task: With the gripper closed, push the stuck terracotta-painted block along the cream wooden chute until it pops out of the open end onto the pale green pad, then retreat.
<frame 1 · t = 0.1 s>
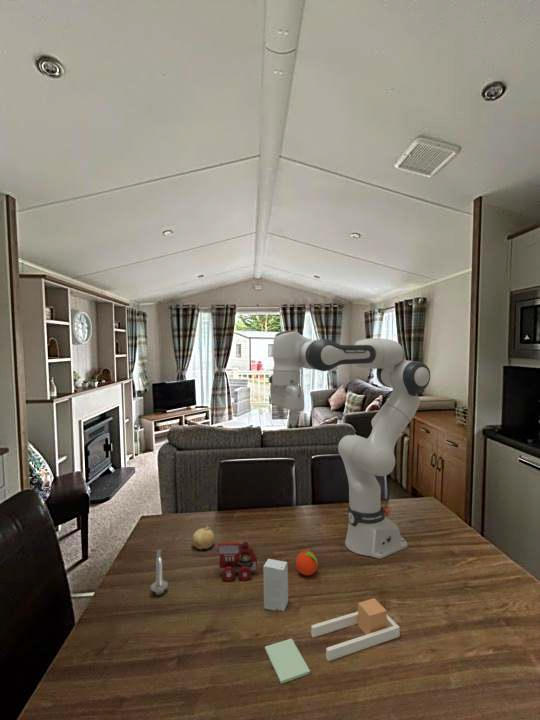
hand: (286, 421, 124), 48 cm above the table, fingers open, 8 cm apart
pad: (292, 658, 87), on the table
onion: (203, 547, 136), on the table
screw: (159, 593, 111), on the table
chute: (355, 638, 93), on the table
block: (372, 618, 94), point 4 cm above the table, slide at 0.0 cm
clementine: (308, 574, 119), on the table
toy fire truck: (237, 575, 119), on the table
skincare box: (276, 606, 104), on the table
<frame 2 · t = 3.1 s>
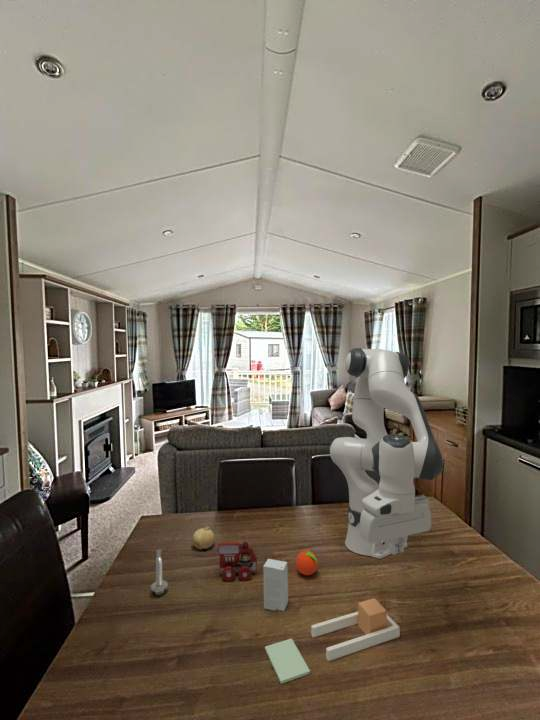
hand: (396, 552, 96), 19 cm above the table, fingers closed
nothing on the table moved.
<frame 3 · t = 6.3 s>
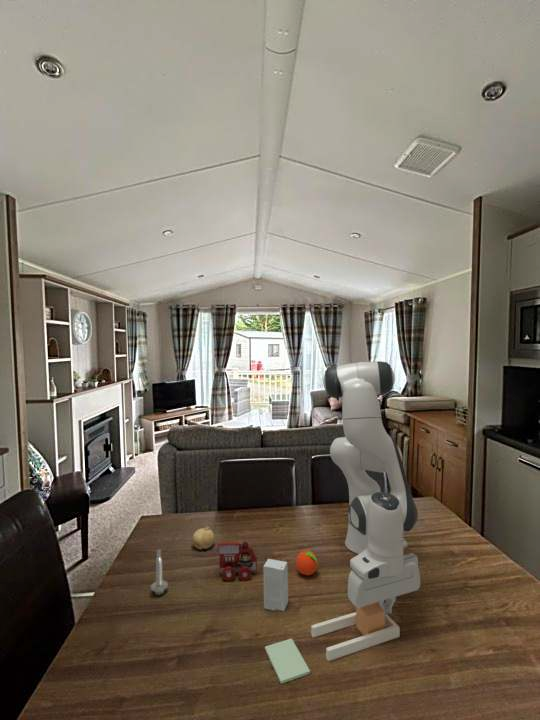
hand: (384, 612, 95), 4 cm above the table, fingers closed
block: (370, 618, 94), point 4 cm above the table, slide at 0.6 cm, touching gripper
everything else where it was.
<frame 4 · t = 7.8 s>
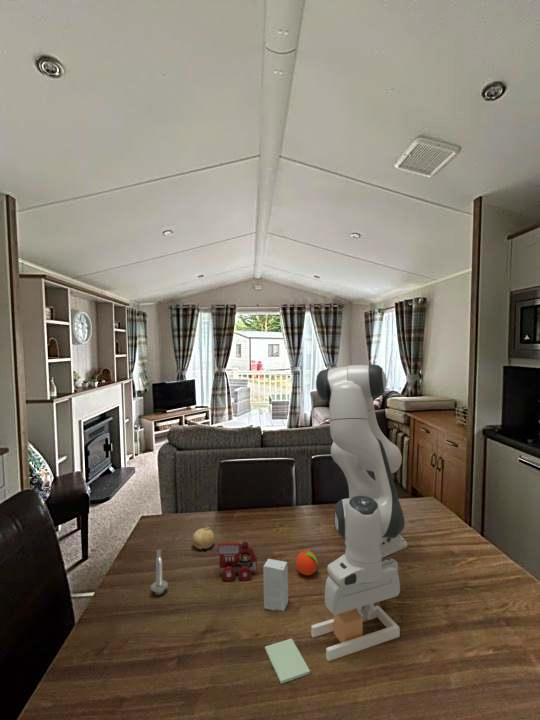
hand: (363, 619, 93), 4 cm above the table, fingers closed
block: (347, 625, 92), point 4 cm above the table, slide at 7.1 cm, touching gripper
everything else where it was.
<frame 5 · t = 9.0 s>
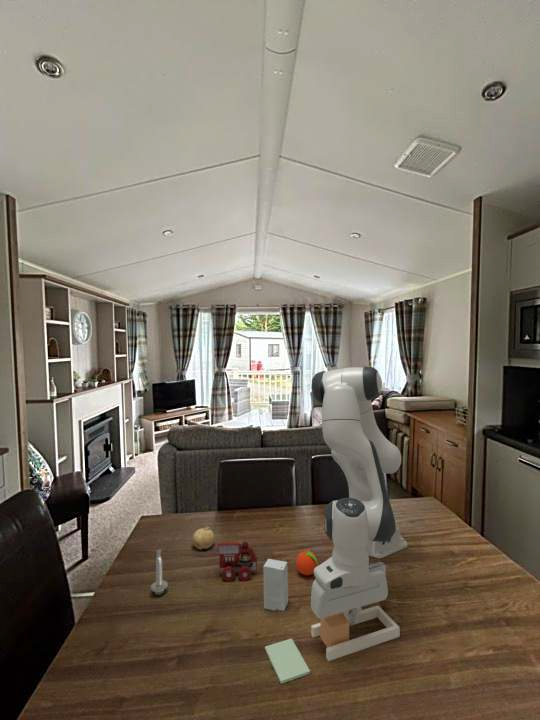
hand: (350, 623, 92), 4 cm above the table, fingers closed
block: (334, 630, 90), point 4 cm above the table, slide at 10.9 cm, touching gripper
everything else where it was.
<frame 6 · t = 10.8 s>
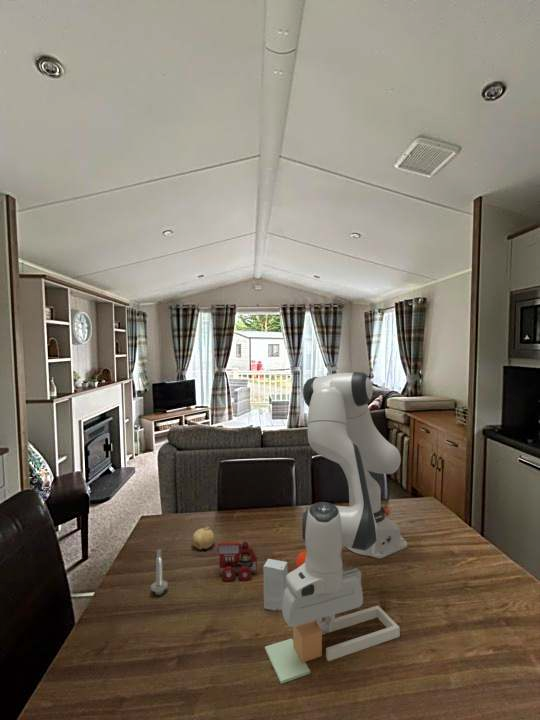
hand: (323, 631, 89), 4 cm above the table, fingers closed
block: (307, 638, 88), point 4 cm above the table, slide at 18.2 cm, touching gripper
everything else where it was.
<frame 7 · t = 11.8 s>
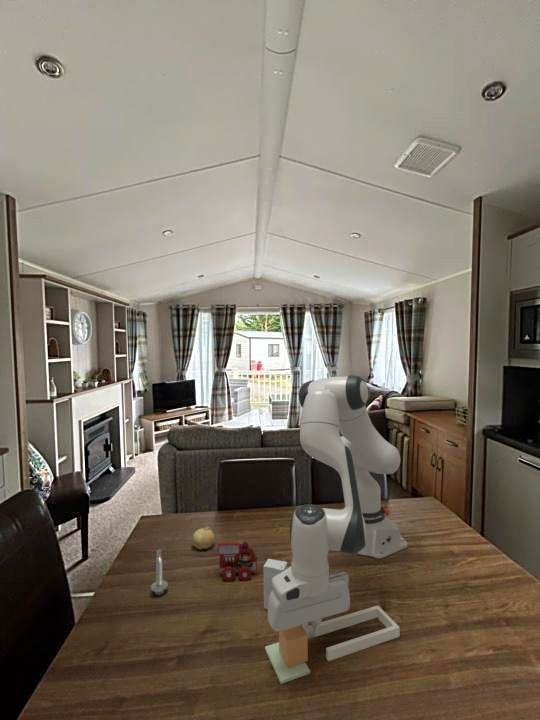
hand: (310, 636, 88), 4 cm above the table, fingers closed
block: (293, 643, 87), point 4 cm above the table, slide at 21.9 cm, touching gripper
everything else where it was.
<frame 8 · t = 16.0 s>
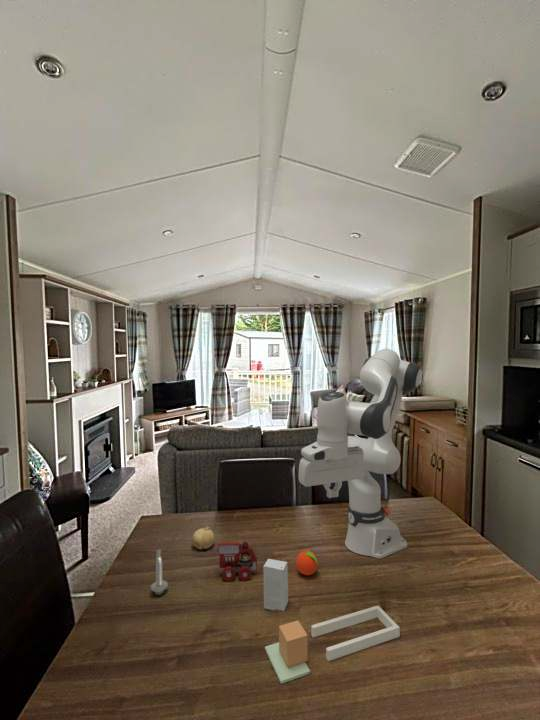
hand: (332, 496, 108), 29 cm above the table, fingers closed
block: (293, 643, 87), point 4 cm above the table, slide at 21.9 cm
everything else where it was.
at the end: block slide at 21.9 cm; block inside the target area (0.1 cm from its centre), point 3.7 cm above the table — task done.
